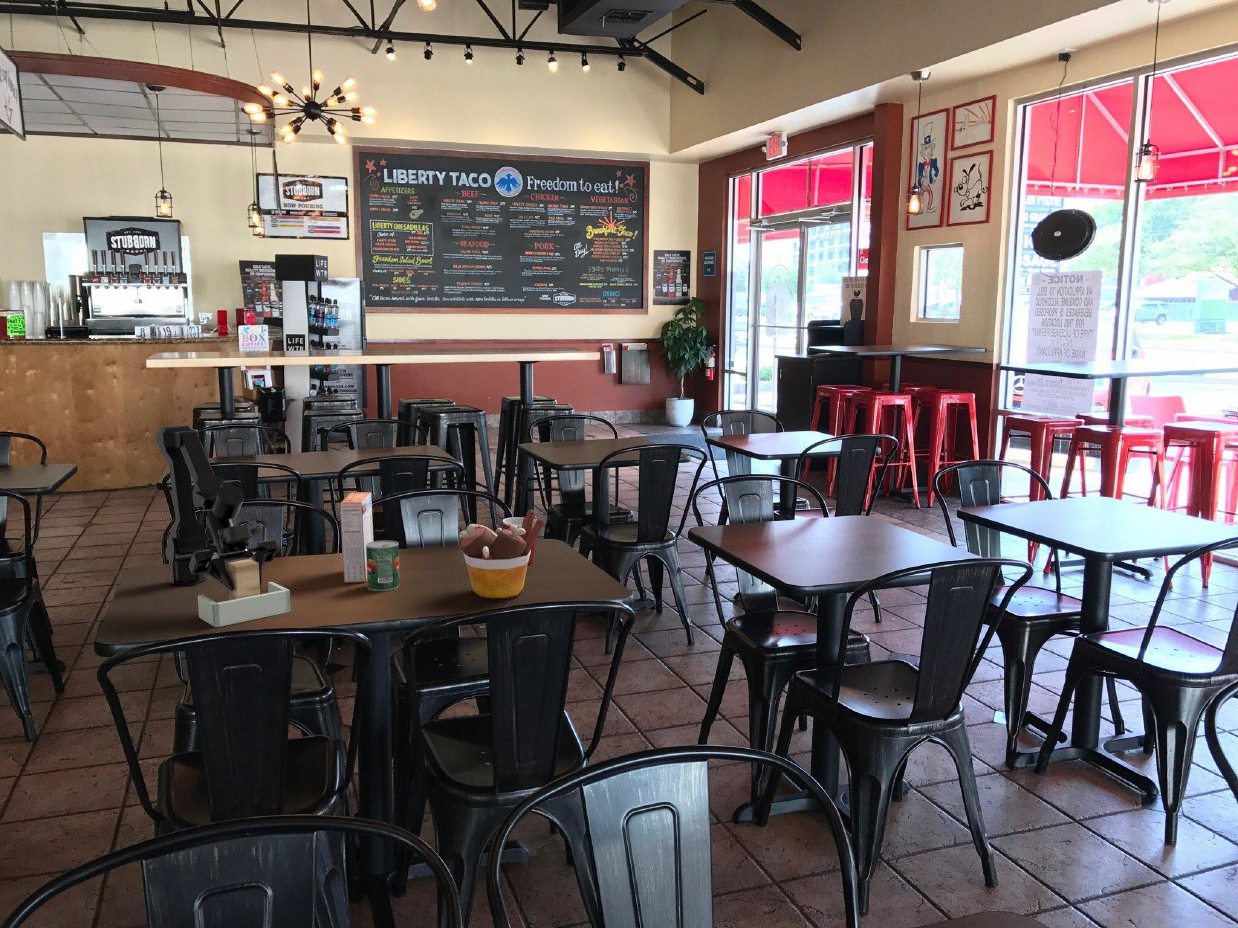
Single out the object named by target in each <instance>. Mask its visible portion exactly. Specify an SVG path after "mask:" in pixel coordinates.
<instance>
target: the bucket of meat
mask: <svg viewBox="0 0 1238 928" xmlns="http://www.w3.org/2000/svg"><path fill="white" fill-rule="evenodd" d="M535 516H536V512H535V511H534V510H533V509H528V510H527V512H526V516H524V517H523V518H524V519H523V523H522V528H520V527H517V526H516V525H510V528H509V529H507V530H506V529H505V528H502V527H498V528H497V529H495V531H493V530H492V529H490V528H489V527H487V526H485V525H480V524H477V523H471V524H468V525H467V526H466V528H465V530H462V531H460V532H459V536H458V537H459V538H460V539H462V540H461V541H460V544H459V547H460V549H461V551H462V552H463V558H464V559H465V564H466V569H467V572H468V575H469V580H470V584H471V585H470V586H471V588H472V591H473V592H474V593H475V594H476V595H477V596H478V595H479V596H478V597H480V598H481V597H485V598H484V599H487V598H493V599H492V600H495V599H494V598H507V599H510V598H509V597H511V598H514V596H515V597H517V596H518V595H519V594H520V593H521V592H522V590H523V589H524V585H525V582H526V581H525V580H526V575H527V569H528V566H529V565H528V561H529V556H530V553H531V550H530V549H531V547H532V546H533V544H534V542H535V540H536V539H537V540H538V537H539V535H540V533H541V531H542V529H543V527H544V525H545V520H544V518H538V519H536V522H535V524H534V526H533V522H534V519H535Z"/></svg>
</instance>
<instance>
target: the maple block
mask: <svg viewBox="0 0 1238 928" xmlns="http://www.w3.org/2000/svg"><path fill="white" fill-rule="evenodd" d="M226 565H227V572H228V574H229V576H230V578H231V581H232V583H233V586H234V590H233V591H230V590H229V589H228V596H229V597H228V599H229V600H228V601H230V600H235V599H240V598H245V597H250V596H256V595H261V588H260V587H261V586H260V582H259V563H257V562H255V561H253V560H251V559H250V558H246V559H240V560H234V561H228V562H227V563H226Z"/></svg>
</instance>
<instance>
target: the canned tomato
mask: <svg viewBox="0 0 1238 928" xmlns="http://www.w3.org/2000/svg"><path fill="white" fill-rule="evenodd" d="M399 551H400V550H399V542H398V541H395V540H376V541H374V540H373V542H370V543H367V544H366V557H367V558H366V559H367V581H366V583H367V587H366V589H368V591H371V592H372V591H373V592H388V590H389V591H394V590H397V589H398V587H399V586H401V584H400V554H399V553H400V552H399ZM399 588H400V587H399ZM393 589H394V590H393Z"/></svg>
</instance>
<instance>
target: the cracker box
mask: <svg viewBox="0 0 1238 928" xmlns="http://www.w3.org/2000/svg"><path fill="white" fill-rule="evenodd" d="M372 501H373V500H372V492H368V491H367V492H363V491H361V492H359V491H357V492H355V491H354V492H353V491H352V492H349V494H348V495H347V496H346V497H345V498H343V500H341V502H340V503H339V511H340V512H339V513H340V527H341V528H340V529H341V531H340V532H341V549H342V567H343V583H345V584H351V583H352V584H353V583H367V559H366V558H367V557H366V544H367V543H370V542H374V526H373V524H374V523H373V505H372Z"/></svg>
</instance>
